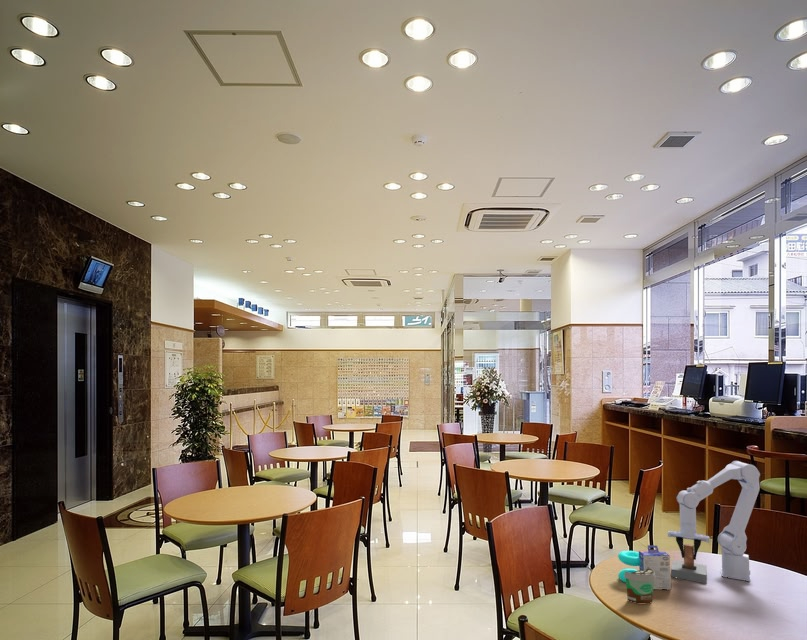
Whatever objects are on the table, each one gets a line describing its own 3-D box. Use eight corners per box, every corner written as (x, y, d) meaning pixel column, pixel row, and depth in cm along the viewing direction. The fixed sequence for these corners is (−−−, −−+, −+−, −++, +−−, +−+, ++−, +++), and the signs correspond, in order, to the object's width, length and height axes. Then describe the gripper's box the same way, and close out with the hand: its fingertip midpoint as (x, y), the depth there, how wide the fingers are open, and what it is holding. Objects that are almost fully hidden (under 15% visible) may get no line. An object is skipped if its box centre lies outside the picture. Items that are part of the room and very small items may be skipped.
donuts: (652, 557, 212) (629, 559, 209) (652, 584, 211) (629, 587, 208) (635, 548, 221) (612, 550, 219) (635, 575, 221) (613, 577, 218)
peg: (694, 566, 222) (693, 545, 223) (694, 568, 219) (693, 547, 220) (684, 564, 224) (683, 543, 224) (684, 567, 221) (683, 546, 221)
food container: (639, 608, 190) (638, 577, 191) (624, 601, 196) (624, 571, 196) (664, 601, 196) (663, 571, 197) (649, 595, 201) (648, 566, 202)
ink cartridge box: (665, 584, 211) (664, 544, 212) (671, 590, 206) (670, 549, 207) (638, 583, 212) (637, 544, 213) (644, 589, 206) (643, 548, 207)
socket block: (706, 573, 224) (706, 565, 224) (706, 583, 213) (706, 575, 213) (673, 567, 229) (673, 560, 230) (671, 577, 219) (671, 569, 219)
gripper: (667, 522, 223) (667, 557, 222) (708, 527, 216) (709, 564, 215) (668, 518, 229) (668, 552, 228) (708, 523, 222) (709, 559, 221)
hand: (688, 558), depth 222 cm, fingers closed on peg, 3 cm apart
